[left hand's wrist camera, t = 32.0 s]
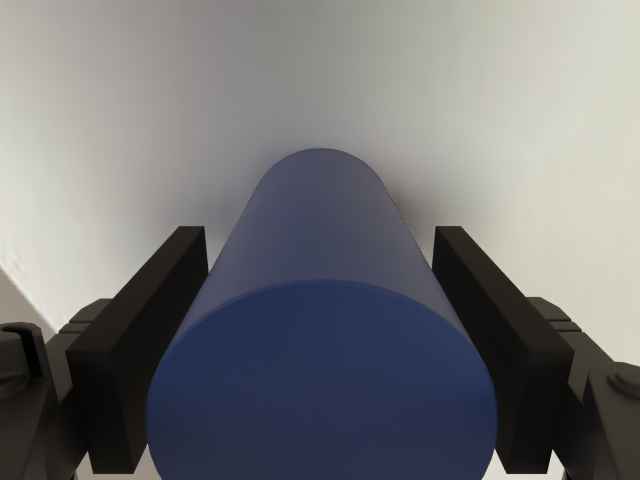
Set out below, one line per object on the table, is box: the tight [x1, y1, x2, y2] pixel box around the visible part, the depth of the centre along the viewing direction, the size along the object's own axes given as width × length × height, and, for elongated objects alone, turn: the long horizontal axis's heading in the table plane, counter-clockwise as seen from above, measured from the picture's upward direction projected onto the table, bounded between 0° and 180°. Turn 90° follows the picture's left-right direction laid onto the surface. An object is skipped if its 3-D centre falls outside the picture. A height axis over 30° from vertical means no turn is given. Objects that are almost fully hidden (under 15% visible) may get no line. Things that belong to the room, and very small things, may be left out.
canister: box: [145, 148, 499, 480], centre depth 13 cm, size 6×6×12 cm
